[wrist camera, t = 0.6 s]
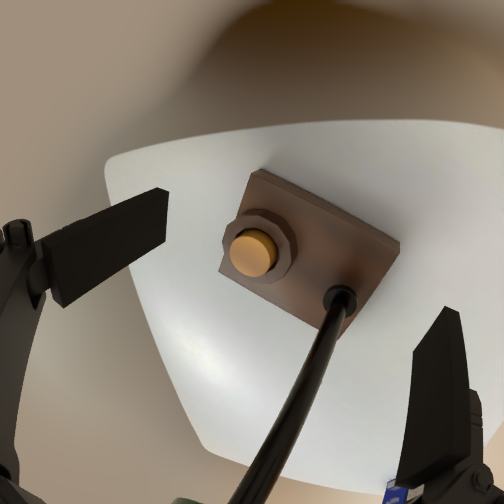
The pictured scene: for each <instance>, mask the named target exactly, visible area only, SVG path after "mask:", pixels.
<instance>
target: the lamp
mask: <svg viewBox="0 0 504 504" xmlns="http://www.w3.org/2000/svg"><path fill="white" fill-rule="evenodd" d="M322 303H323V307H324V309H325V311H326V315H325V317H324V319H323V322H322V324H321V326H320V329H319V331H318V333H317V336H316V338H315V340H314V342H313V345H312V347H311V349H310V351H309V353H308V356H307V358H306V360H305V362H304V364H303V366H302V368H301V371H300V373H299V375H298V377H297V379H296V381H295V383H294V385H293V387H292V389H291V391H290V393H289V395H288V397H287V399H286V401H285V403H284V405H283V407H282V409H281V411H280V413H279V415H278V417H277V419H276V421H275V423H274V424H273V426H272V428H271V430H270V432H269V434H268V436H267V437H266V439H265V441H264V443H263V445H262V446H261V448H260V450H259V452H258V454H257V455H256V457H255V459H254V461H253V462H252V464H251V466H250V467H249V469H248V471H247V473H246V474H245V476H244V478H243V479H242V481H241V483H240V484H239V486H238V487H237V489H236V491H235V492H234V494H233V496H232V497H231V499H230V500H229V502H228V504H265V502H266V500H267V498H268V496H269V494H270V493H271V490H272V489H273V487H274V485H275V483H276V481H277V479H278V477H279V475H280V473H281V471H282V469H283V467H284V465H285V463H286V461H287V459H288V457H289V455H290V453H291V451H292V449H293V447H294V445H295V443H296V440H297V438H298V436H299V434H300V432H301V429H302V427H303V425H304V423H305V420H306V418H307V416H308V413H309V411H310V409H311V406H312V404H313V402H314V399H315V397H316V394H317V392H318V389H319V387H320V384H321V382H322V379H323V377H324V374H325V371H326V369H327V366H328V363H329V361H330V358H331V355H332V353H333V350H334V347H335V344H336V341H337V339H338V336H339V333H340V330H341V327H342V324H343V321H344V318H348V317H350V316H352V315H353V314H354V313H355V311H356V309H357V306H358V296H357V294H356V292H355V291H354V290H353V289H352V288H350V287H349V286H346V285H342V284H337V285H333V286H331V287H330V288H328V289H327V290H326V292H325V294H324V296H323V300H322ZM172 504H203V503H199V502H197V501H194V500H190V499H186V498H176V499H175V500H174V501H173V502H172Z"/></svg>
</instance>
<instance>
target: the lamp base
mask: <svg viewBox="0 0 504 504" xmlns="http://www.w3.org/2000/svg"><path fill="white" fill-rule="evenodd" d="M252 229H256V230H260V231H263V232H265V233H266V234H268V235H269V236H270V237H271V238H272V239H273V241H274V243H275V245H276V248H277V258H276V260H275V262H274V263H273V265H272V266H271V267H270V268H269V269H268V271H267V272H266V273H265V274H263V275H261V276H258V277H250V276H247V275H244V274H243V273H241V272H240V271H238V270H237V269H236V267H235V266H234V265H233V263H232V261H231V258H230V246H231V244H232V242H233V241H234V240H235V239H236V238H238V237H239V236H240V235H241V234H243V233H244V232H245V231H248V230H252ZM222 244H223V248H224V256H223V259H222V262H221V265H220V268H219V272H220V273H221V274H223V275H225V276H226V277H228V278H230V279H231V280H233V281H235V282H237V283H238V284H240V285H242V286H243V287H245V288H247V289H248V290H250V291H252V292H254V293H255V294H257V295H259V296H260V297H262V298H264V299H266V300H267V301H269V302H271V303H272V304H274V305H276V306H278V307H279V308H281V309H283V310H285V311H286V312H288V313H290V314H292V315H293V316H295V317H297V318H299V319H300V320H302V321H304V322H306V323H308V324H309V325H311V326H313V327H315V328H316V329H318V330H319V329H320V326H321V324H322V322H323V319H324V317H325V315H326V311H325V309H324V307H323V303H322V300H323V296H324V294H325V292H326V290H327V289H328V288H330V287H331V286H333V285H337V284H342V285H346V286H349V287H350V288H352V289H353V290H354V291H355V292H356V294H357V296H358V306H357V309H356V311H355V313H354V314H353V315H352V316H350V317H348V318H344V321H343V324H342V327H341V330H340V333H339V336H338V339H339V338H340V337H341V336H342V334H343V333H344V332H345V330H346V329H347V328H348V326H349V325H350V324H351V322H352V321H353V320H354V318H355V317H356V316H357V314H358V313H359V312H360V310H361V309H362V308H363V306H364V305H365V303H366V302H367V301H368V299H369V298H370V296H371V295H372V294H373V292H374V291H375V289H376V288H377V286H378V285H379V283H380V282H381V281H382V279H383V278H384V276H385V275H386V273H387V272H388V270H389V269H390V267H391V266H392V264H393V262H394V261H395V259H396V258H397V256H398V255H399V253H400V242H398V241H396V240H394V239H393V238H391V237H389V236H388V235H386V234H384V233H382V232H381V231H379V230H377V229H375V228H374V227H372V226H370V225H368V224H367V223H365V222H363V221H361V220H359V219H358V218H356V217H354V216H352V215H350V214H349V213H347V212H345V211H343V210H341V209H339V208H337V207H336V206H334V205H332V204H330V203H328V202H326V201H324V200H322V199H320V198H318V197H317V196H315V195H313V194H311V193H309V192H307V191H305V190H303V189H301V188H299V187H297V186H295V185H293V184H291V183H289V182H287V181H285V180H283V179H281V178H279V177H277V176H274V175H272V174H270V173H268V172H266V171H264V170H262V169H260V170H257V171H255V172H253V173H251V175H250V178H249V181H248V184H247V187H246V190H245V193H244V196H243V199H242V201H241V204H240V207H239V210H238V213H237V216H236V219H235V220H234V221H232V222H231V223H230V224H228V225H227V227H226V230H225V234H224V237H223V240H222ZM338 339H337V340H338Z"/></svg>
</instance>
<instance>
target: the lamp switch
mask: <svg viewBox="0 0 504 504" xmlns="http://www.w3.org/2000/svg"><path fill="white" fill-rule="evenodd" d="M230 258H231V261H232V263H233V265H234V266H235V267H236V269H237V270H238V271H240V272H241V273H243V274H244V275H247V276H250V277H258V276H261V275H263V274H265V273H266V272H267V271H268V269H269V268H270V267H271V266H272V265H273V263H274V262H275V260H276V258H277V248H276V245H275V243H274V241H273V239H272V238H271V237H270V236H269V235H268V234H266V233H265V232H263V231H260V230H256V229H252V230H248V231H245V232H244V233H243V234H241V235H240V236H239V237H238V238H236V239H235V240H234V241H233V242H232V244H231V246H230Z"/></svg>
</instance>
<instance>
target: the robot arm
mask: <svg viewBox="0 0 504 504" xmlns="http://www.w3.org/2000/svg"><path fill="white" fill-rule="evenodd" d="M168 199H169V192H168V191H165V190H163V189H160V188H154V189H152V190H149V191H147V192H144V193H142V194H140V195H137V196H135V197H132V198H130V199H128V200H125V201H123V202H121V203H118V204H116V205H114V206H111V207H109V208H107V209H105V210H102V211H100V212H98V213H96V214H93V215H91V216H89V217H87V218H85V219H81V220H78V221H76V222H74V223H72V224H70V225H69V226H68V225H67V226H65V227H63V228H62V229H59V230H57V231H55V232H53V233H51V234H49V235H47V236H45V237H43V238H41V239H39V240H37V241H35V242H34V239H33V233H32V227H31V223H30V221H28V220H26V219H17V220H13V221H10V222H8V223H7V224H5V225H4V226H3V232H4V237H5V241H4V238H3V233H2V231H1V229H0V504H46V503H45V502H44V501H43V500H42V499H40V498H38V497H37V496H35V495H33V494H31V493H29V492H28V491H26V490H24V489H22V488H21V487H19V470H20V469H19V460H18V456H17V453H16V451H15V448H14V436H15V428H16V421H17V414H18V407H19V402H20V396H21V391H22V385H23V380H24V376H25V371H26V367H27V363H28V358H29V354H30V350H31V347H32V343H33V339H34V335H35V332H36V329H37V325H38V322H39V319H40V315H41V312H42V309H43V306H44V303H45V300H46V293H45V291H46V290H47V289H49V288H50V289H51V293H52V297H53V299H54V301H56V302H57V303H58V304H59V305H60V306H61V307H62V308H65V307H67V306H68V305H69V304H71V303H72V302H74V301H75V300H76V299H78V298H79V297H81V296H82V295H84V294H85V293H87V292H88V291H90V290H91V289H93V288H94V287H96V286H97V285H99V284H100V283H102V282H103V281H105V280H106V279H108V278H109V277H111V276H112V275H114V274H115V273H117V272H118V271H120V270H121V269H123V268H124V267H126V266H128V265H129V264H131V263H132V262H134V261H135V260H137V259H138V258H140V257H142V256H143V255H145V254H146V253H148V252H150V251H151V250H153V249H154V248H156V247H157V246H159V245H161V244H162V243H164V242H165V240H166V224H167V211H168ZM481 417H482V407H481V402H480V399H479V396H478V394H477V391H474V390H472V389H469V377H468V368H467V359H466V352H465V344H464V338H463V332H462V326H461V320H460V315H459V312H457V311H455V310H453V309H451V308H449V307H446V306H444V308H443V309H442V311H441V312H440V314H439V315H438V317H437V318H436V320H435V321H434V323H433V324H432V326H431V327H430V329H429V330H428V332H427V333H426V334H425V336H424V337H423V339H422V340H421V341H420V343H419V344H418V346H417V347H416V348H415V350H414V351H413V360H412V375H411V386H410V396H409V405H408V413H407V420H406V427H405V434H404V440H403V446H402V451H401V456H400V461H399V466H398V471H397V476H396V480H395V484H394V486H398V487H402V488H406V489H411V490H414V489H416V488H417V487H419V486H421V485H423V484H424V488H423V493H422V494H420V495H418V496H416V497H414V498H412V499H409V500H407V501H406V502H404V503H403V504H504V491H502V490H501V489H499V488H498V487H496V486H495V485H493V484H494V480H493V474H492V472H491V470H490V468H489V467H488V466H486V465H485V464H483V428H482V426H483V423H482V418H481Z"/></svg>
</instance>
